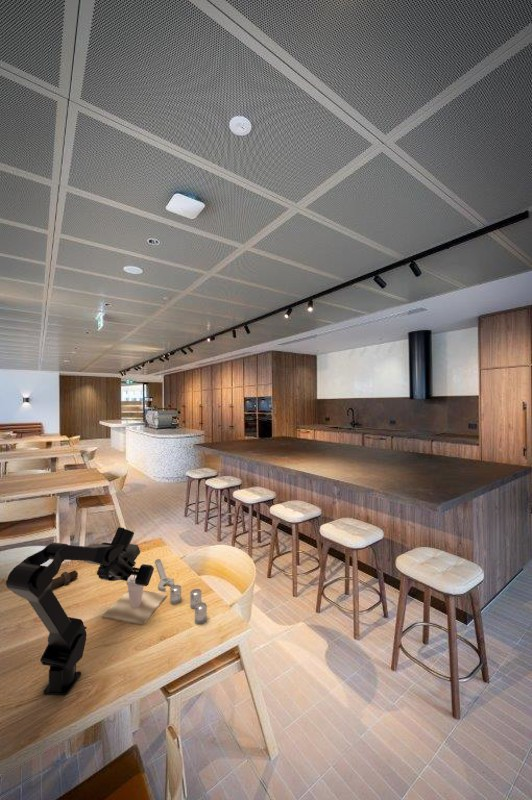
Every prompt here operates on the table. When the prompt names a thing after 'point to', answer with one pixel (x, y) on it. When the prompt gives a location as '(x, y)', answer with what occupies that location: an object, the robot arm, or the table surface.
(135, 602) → the smoothie
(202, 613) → the posts
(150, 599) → the pad
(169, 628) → the table surface
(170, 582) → the adjustable wrench
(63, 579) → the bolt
